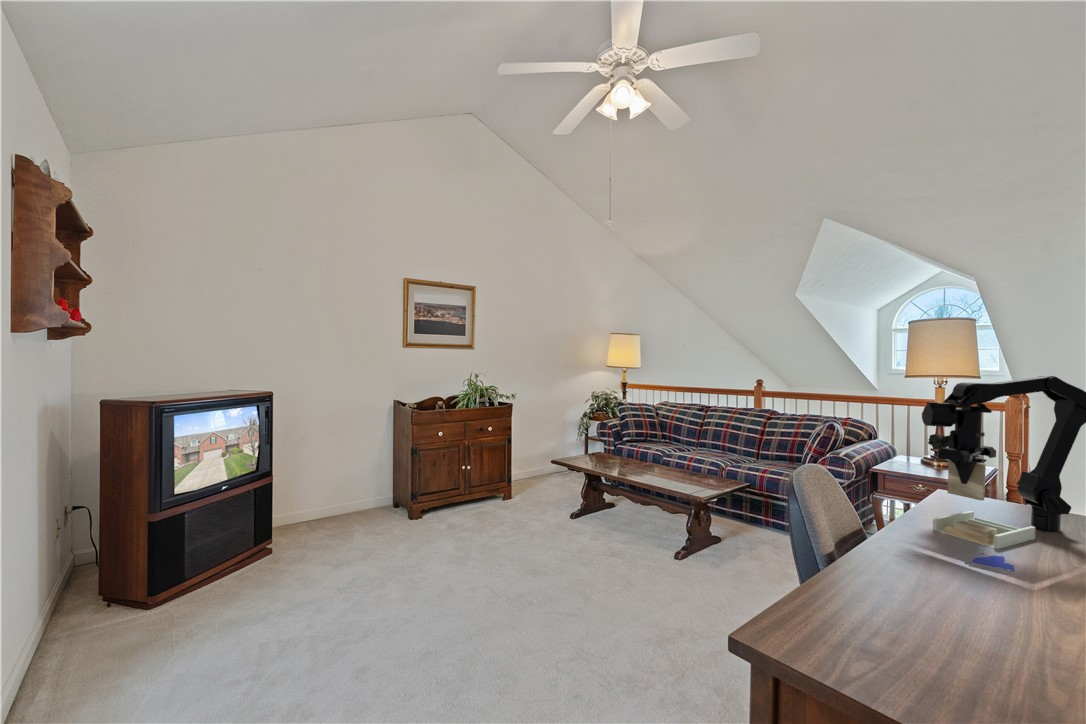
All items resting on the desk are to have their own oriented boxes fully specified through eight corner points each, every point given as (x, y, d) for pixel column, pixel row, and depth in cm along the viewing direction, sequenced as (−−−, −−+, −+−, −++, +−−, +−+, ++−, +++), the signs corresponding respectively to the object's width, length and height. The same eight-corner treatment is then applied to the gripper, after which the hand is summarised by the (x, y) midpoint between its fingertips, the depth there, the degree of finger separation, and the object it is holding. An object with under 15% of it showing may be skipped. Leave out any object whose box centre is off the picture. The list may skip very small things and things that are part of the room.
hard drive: (1018, 573, 108) (1018, 556, 117) (968, 561, 114) (972, 547, 123) (1018, 580, 108) (1018, 563, 117) (968, 568, 114) (972, 553, 123)
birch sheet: (950, 492, 146) (951, 457, 145) (984, 500, 139) (985, 463, 138) (947, 493, 145) (948, 458, 145) (981, 500, 138) (983, 464, 138)
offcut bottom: (957, 529, 135) (957, 524, 135) (999, 541, 127) (999, 535, 127) (944, 532, 133) (944, 526, 133) (986, 544, 124) (986, 538, 124)
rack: (969, 525, 142) (970, 510, 142) (1034, 542, 130) (1035, 527, 130) (932, 533, 135) (933, 518, 135) (997, 552, 122) (998, 536, 122)
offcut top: (964, 525, 134) (964, 520, 134) (996, 534, 127) (997, 528, 127) (953, 528, 132) (953, 522, 132) (986, 537, 125) (986, 531, 125)
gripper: (952, 422, 153) (949, 474, 153) (917, 425, 145) (914, 479, 145) (998, 427, 143) (995, 483, 143) (963, 431, 135) (961, 489, 135)
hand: (965, 483), depth 142 cm, fingers closed on birch sheet, 1 cm apart
